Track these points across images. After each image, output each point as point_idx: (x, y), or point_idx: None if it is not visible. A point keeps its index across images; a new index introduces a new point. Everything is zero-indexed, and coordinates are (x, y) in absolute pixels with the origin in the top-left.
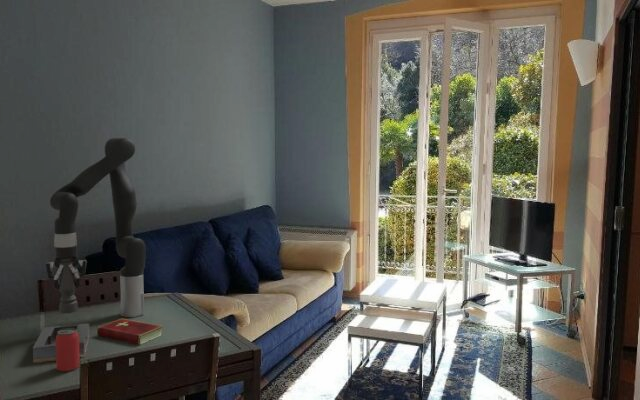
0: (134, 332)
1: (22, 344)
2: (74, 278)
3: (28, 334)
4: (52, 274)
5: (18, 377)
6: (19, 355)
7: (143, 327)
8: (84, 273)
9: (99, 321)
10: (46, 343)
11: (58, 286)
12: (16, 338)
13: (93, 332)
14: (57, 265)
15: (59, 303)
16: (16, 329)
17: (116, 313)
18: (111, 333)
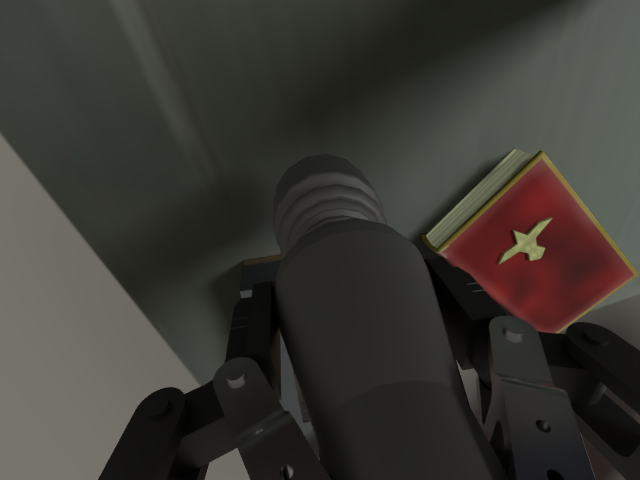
0: (540, 318)
1: (179, 281)
2: (446, 333)
3: (137, 173)
4: (180, 439)
5: None
6: (218, 357)
7: (580, 279)
8: (598, 406)
9: (429, 20)
10: (297, 389)
11: (279, 340)
12: (113, 216)
13: (405, 194)
14: None
15: (278, 243)
16: (14, 73)
17: None
18: None
